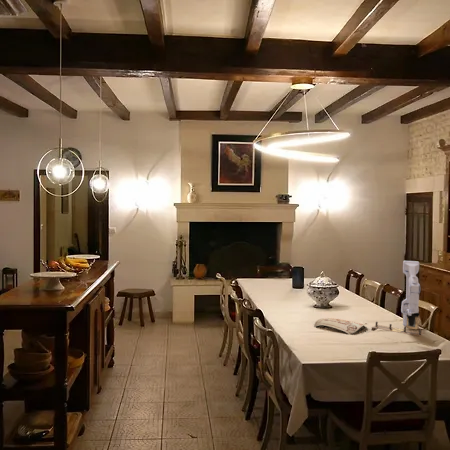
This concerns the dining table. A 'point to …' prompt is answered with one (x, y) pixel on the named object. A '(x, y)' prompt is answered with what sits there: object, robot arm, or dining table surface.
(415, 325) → the light brown rectangular slab
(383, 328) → the peg board
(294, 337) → the dining table surface
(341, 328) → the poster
